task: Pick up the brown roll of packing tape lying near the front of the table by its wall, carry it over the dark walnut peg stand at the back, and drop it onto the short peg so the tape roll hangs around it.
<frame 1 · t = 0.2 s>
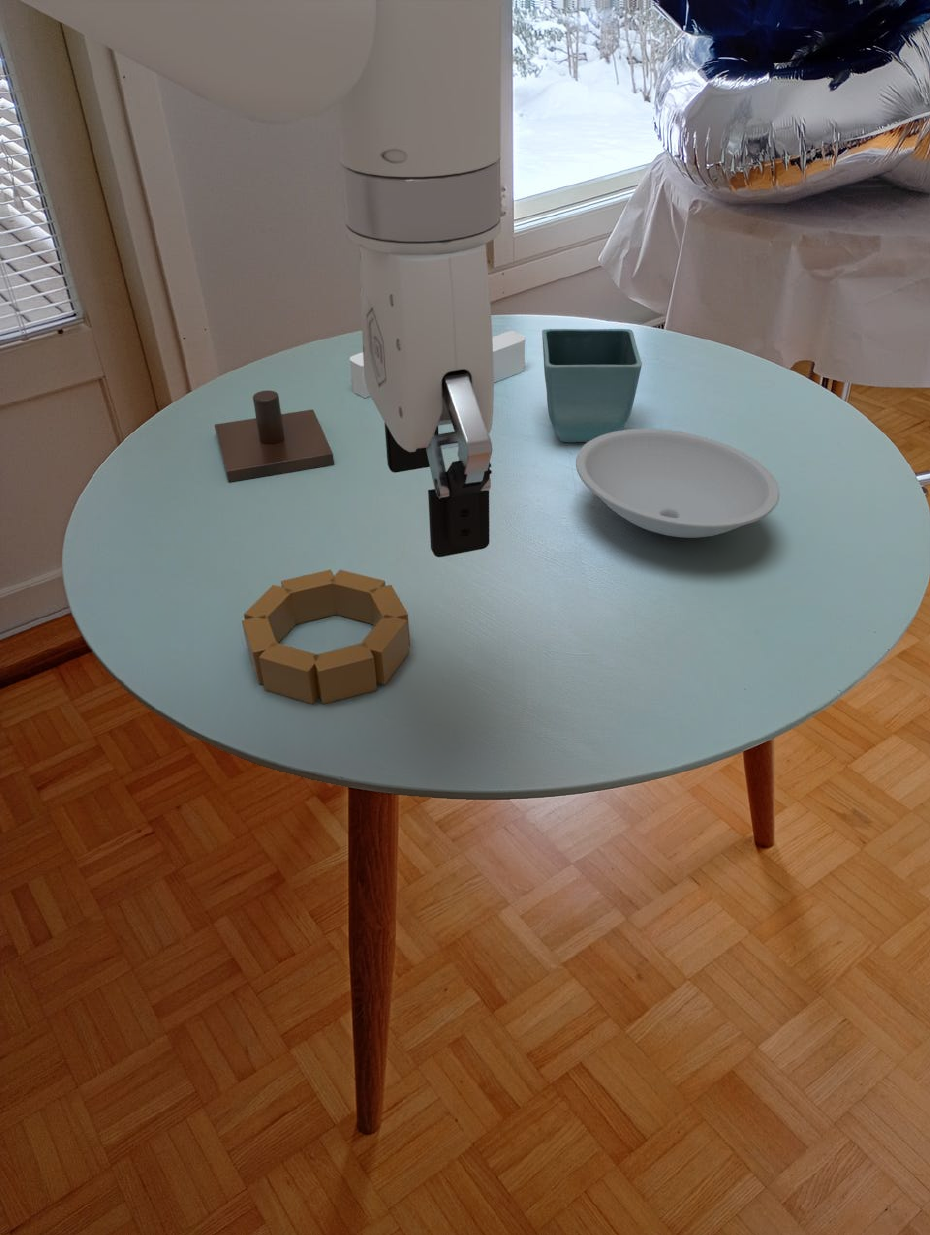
hand: (435, 506, 58), 16 cm above the table, tool pointing down, fingers open, 9 cm apart
peg stand: (273, 449, 96), on the table
tape roll: (329, 649, 72), on the table
dish: (668, 526, 84), on the table
white slotted bracket: (440, 380, 108), on the table
flower pot: (584, 434, 98), on the table
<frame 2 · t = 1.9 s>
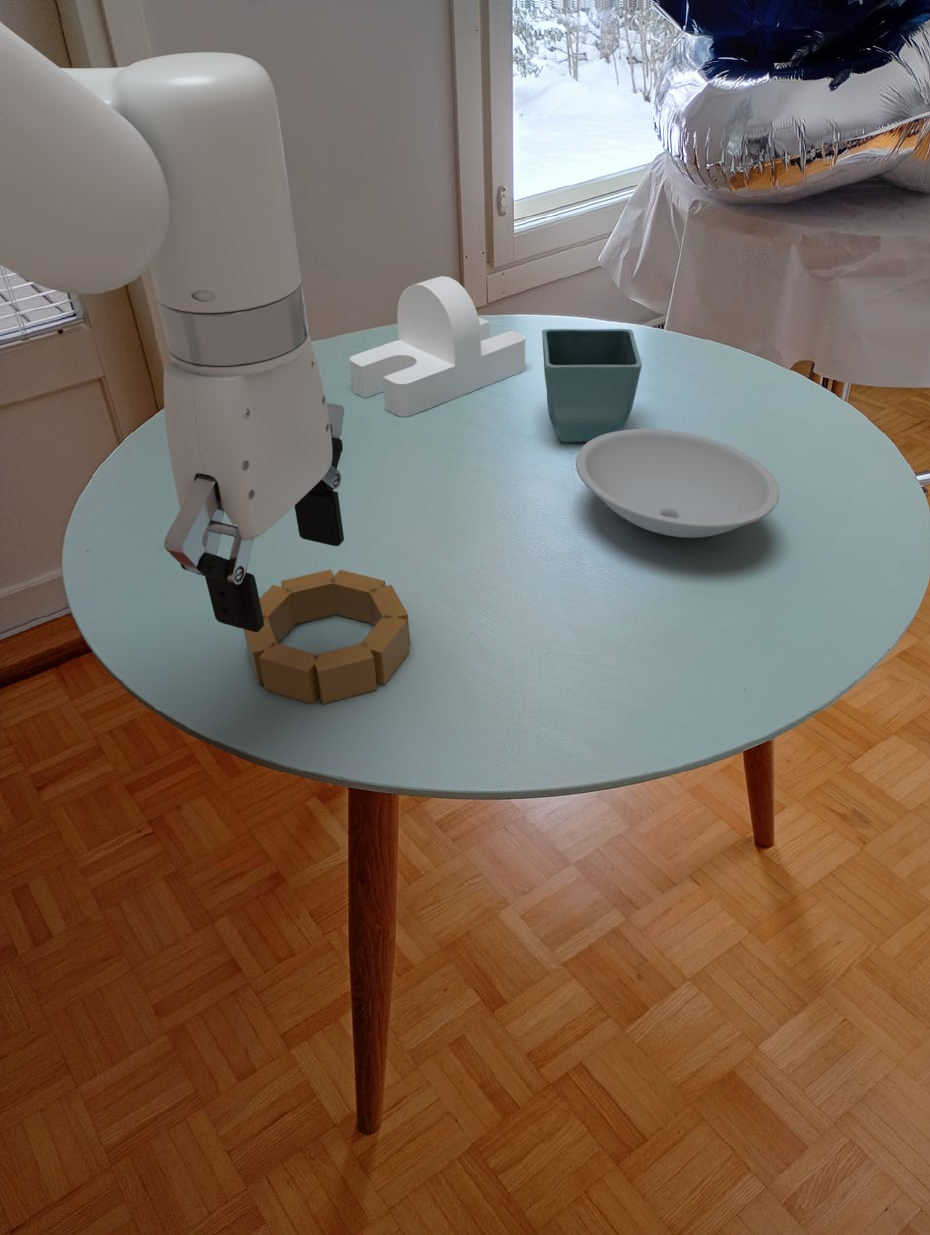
hand: (283, 580, 63), 9 cm above the table, tool pointing down, fingers open, 9 cm apart
nothing on the table moved.
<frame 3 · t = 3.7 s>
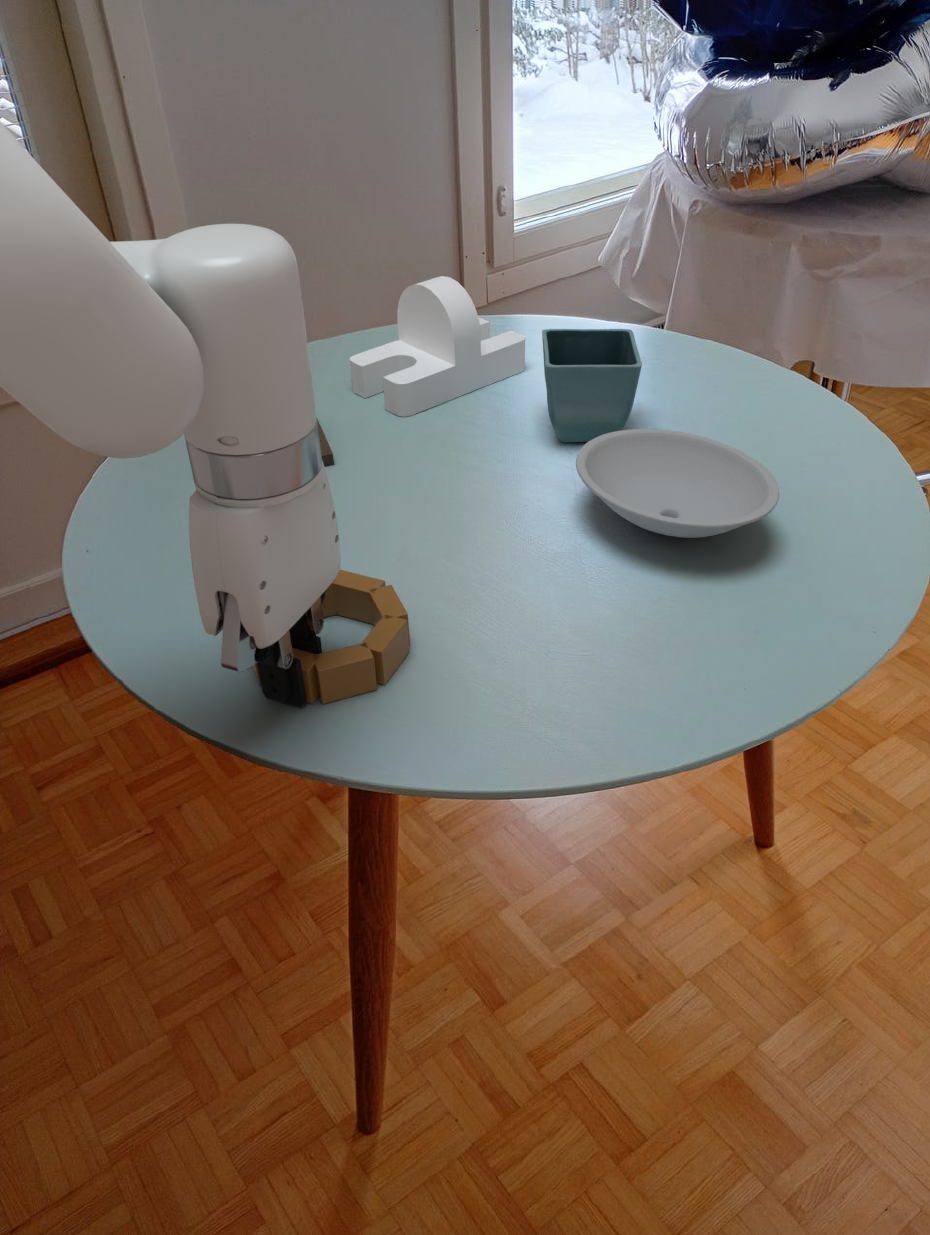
hand: (295, 687, 68), 0 cm above the table, tool pointing down, fingers closed on tape roll
tape roll: (329, 649, 72), on the table, touching gripper
everything else where it was.
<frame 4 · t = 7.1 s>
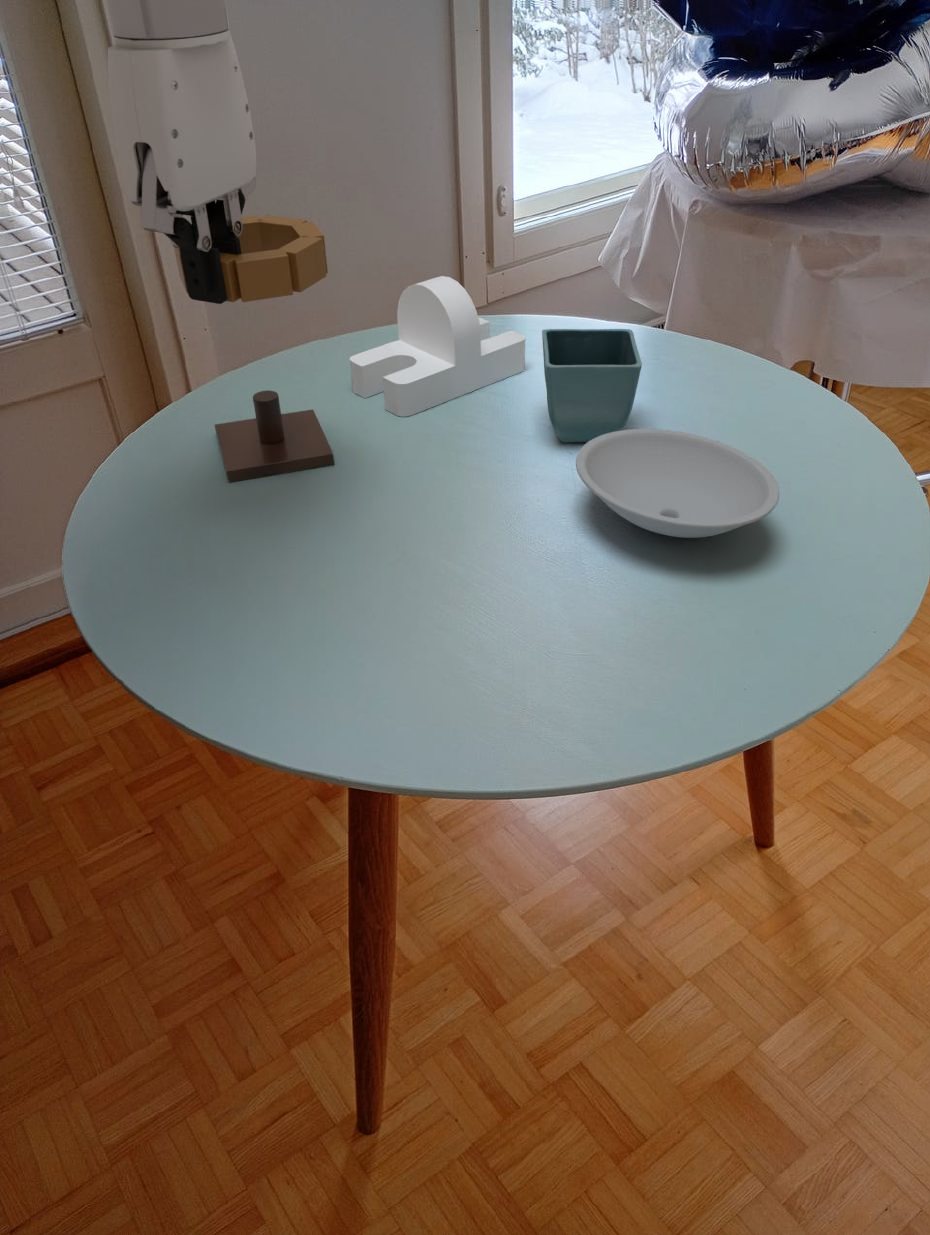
hand: (218, 293, 75), 20 cm above the table, tool pointing down, fingers closed on tape roll
tape roll: (254, 275, 79), point 19 cm above the table, touching gripper
everything else where it was.
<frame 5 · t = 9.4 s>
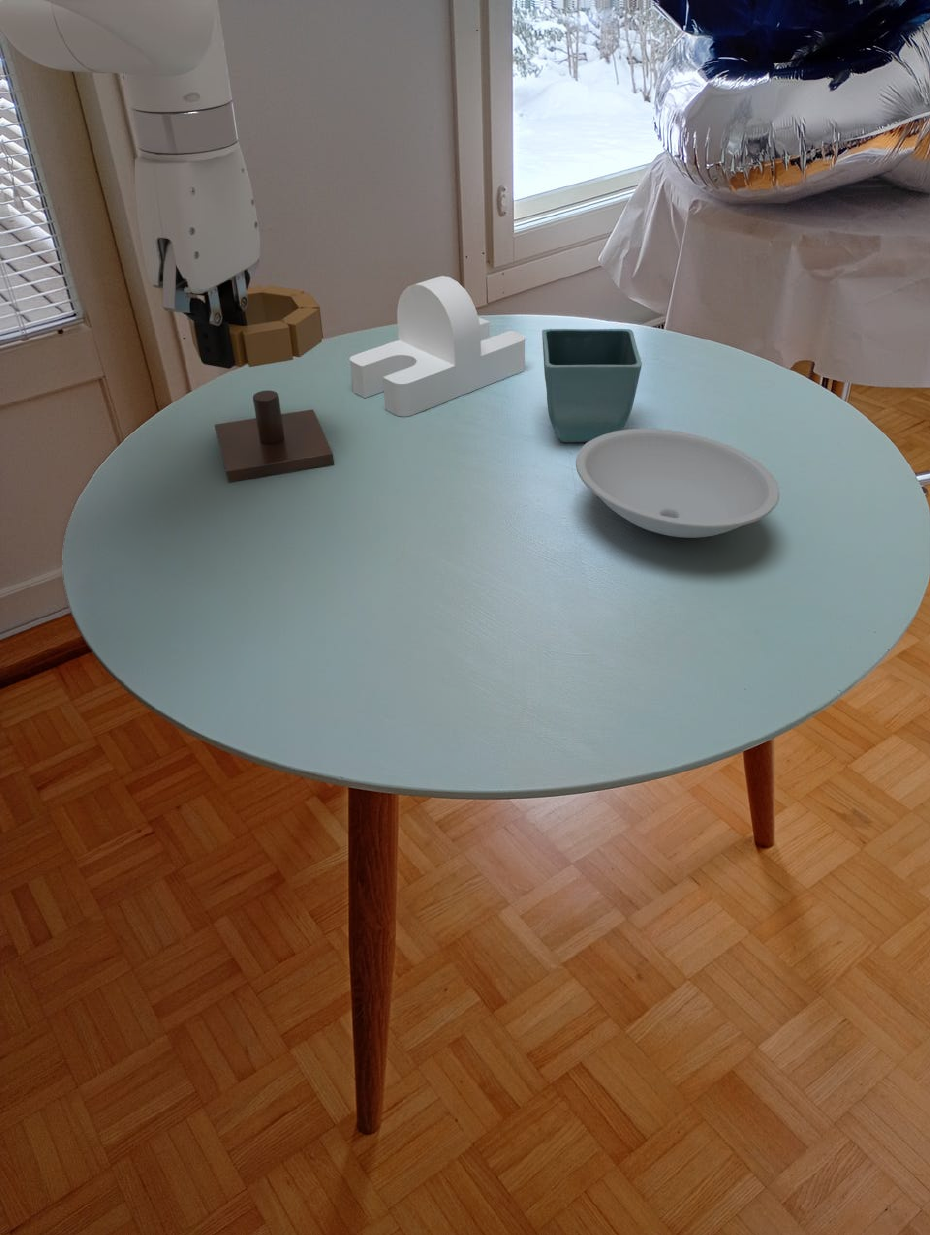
hand: (226, 358, 86), 11 cm above the table, tool pointing down, fingers closed on tape roll
tape roll: (258, 340, 89), point 11 cm above the table, touching gripper
everything else where it was.
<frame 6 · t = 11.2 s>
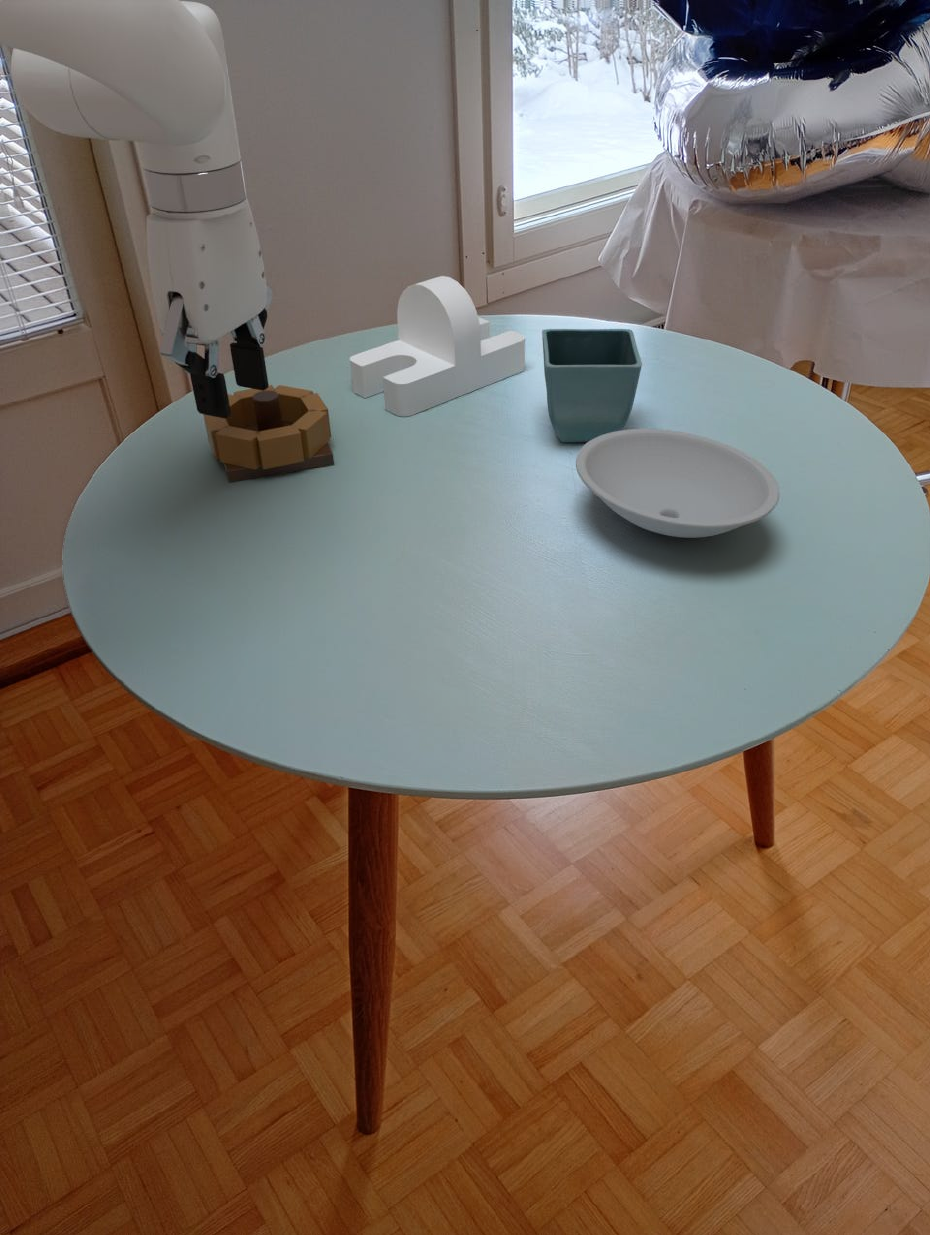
hand: (233, 398, 88), 7 cm above the table, tool pointing down, fingers open, 5 cm apart
tape roll: (270, 439, 95), point 1 cm above the table, touching peg stand
everything else where it was.
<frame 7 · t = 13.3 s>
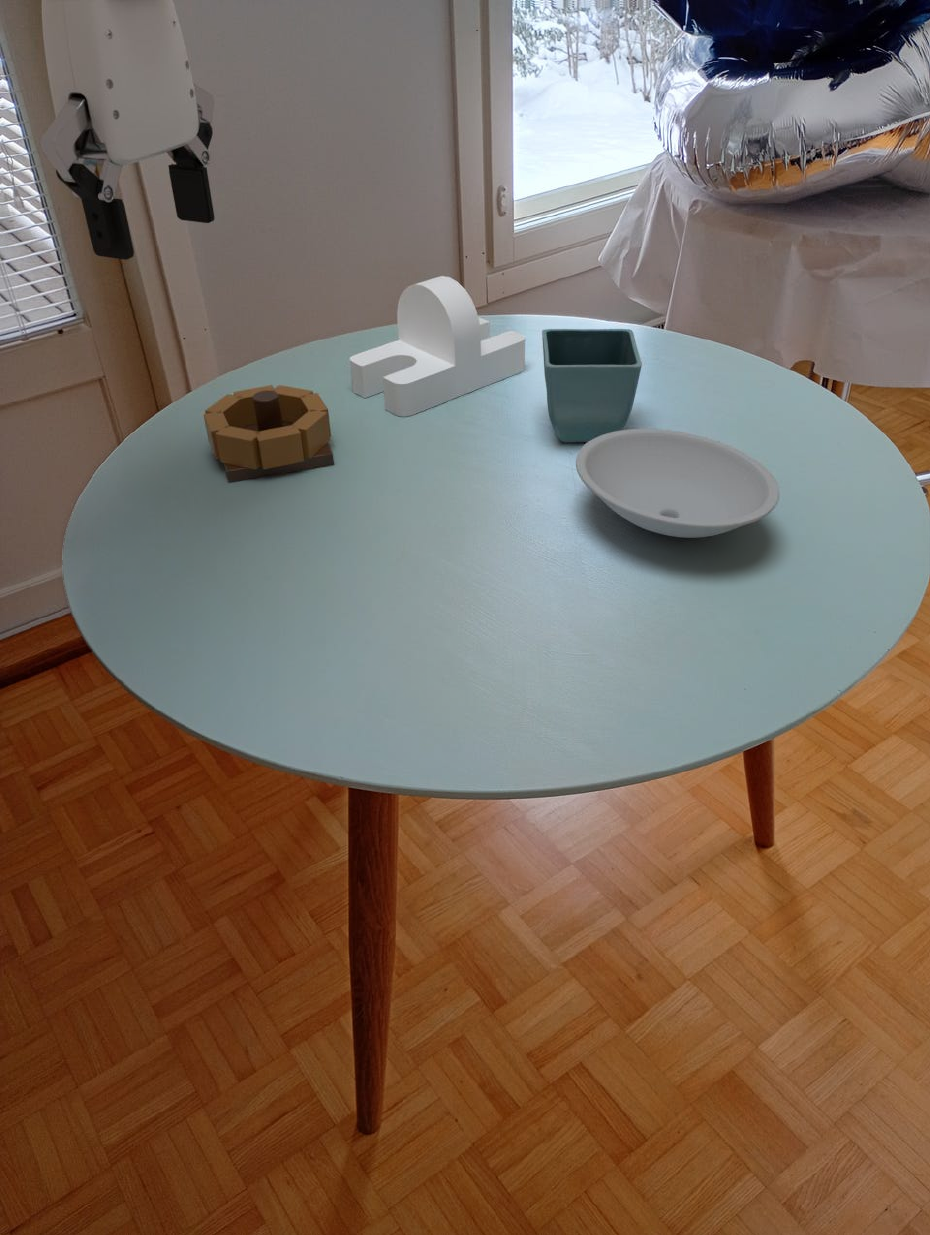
hand: (157, 237, 74), 23 cm above the table, tool pointing down, fingers open, 9 cm apart
nothing on the table moved.
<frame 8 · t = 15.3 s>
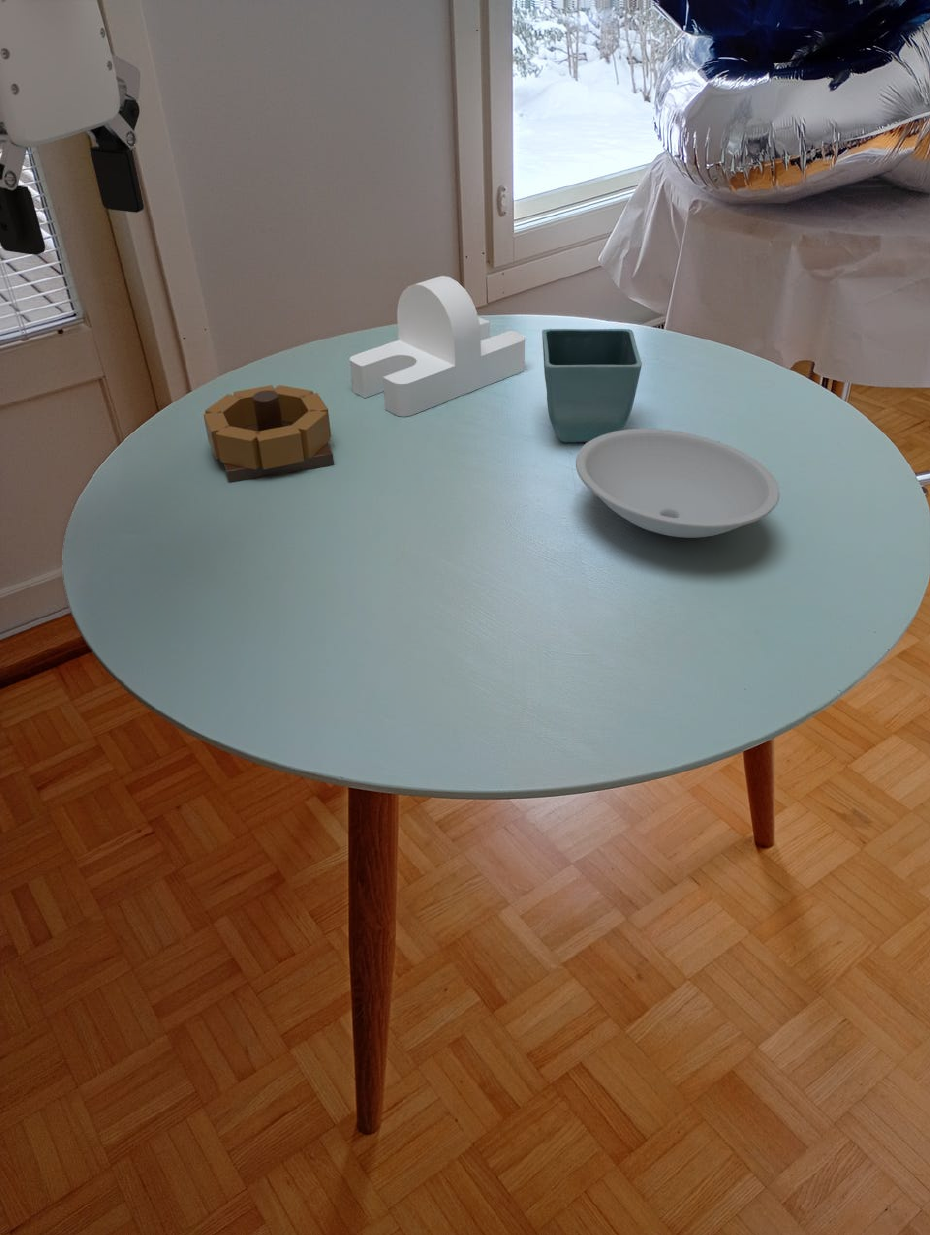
hand: (76, 229, 66), 26 cm above the table, tool pointing down, fingers open, 9 cm apart
nothing on the table moved.
at the end: tape roll 0.3 cm off-centre on the peg stand, point 1.2 cm above the peg stand's base; the gripper is holding nothing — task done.
